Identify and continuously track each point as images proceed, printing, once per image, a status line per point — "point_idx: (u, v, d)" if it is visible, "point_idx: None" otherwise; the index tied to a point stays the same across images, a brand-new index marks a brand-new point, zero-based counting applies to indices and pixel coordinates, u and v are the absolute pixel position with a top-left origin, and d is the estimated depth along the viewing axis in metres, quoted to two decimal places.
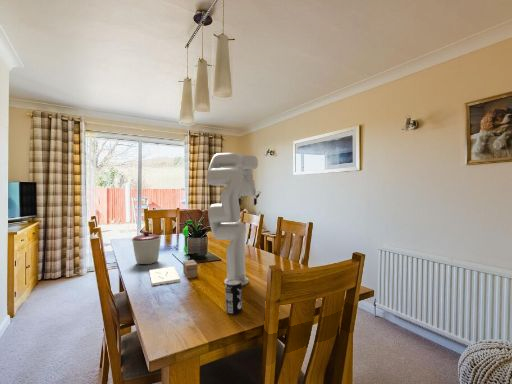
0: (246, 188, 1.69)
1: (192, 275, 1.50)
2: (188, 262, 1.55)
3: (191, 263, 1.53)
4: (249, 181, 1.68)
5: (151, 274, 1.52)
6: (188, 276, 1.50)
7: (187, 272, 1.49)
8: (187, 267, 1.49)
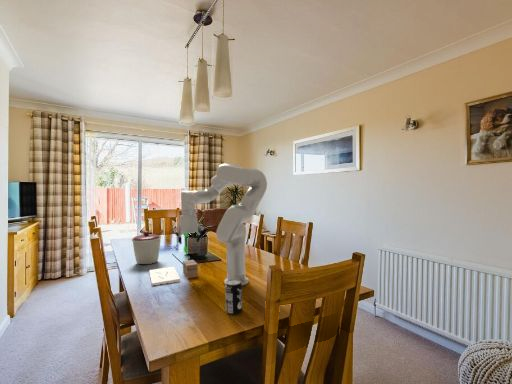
0: None
1: (192, 275, 1.51)
2: (188, 262, 1.55)
3: (191, 263, 1.53)
4: None
5: (151, 274, 1.52)
6: (188, 276, 1.50)
7: (187, 272, 1.49)
8: (187, 267, 1.49)
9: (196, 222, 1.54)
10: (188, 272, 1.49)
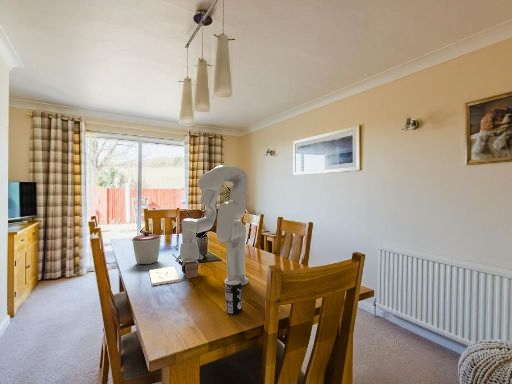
0: None
1: (192, 275, 1.51)
2: (188, 262, 1.55)
3: (191, 262, 1.53)
4: None
5: (151, 274, 1.52)
6: (188, 276, 1.50)
7: (187, 272, 1.49)
8: (187, 267, 1.49)
9: (197, 250, 1.54)
10: (188, 272, 1.50)
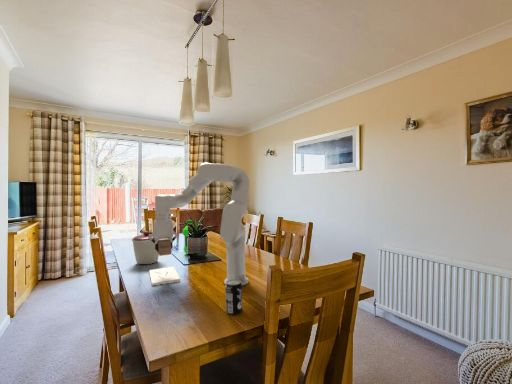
0: None
1: (165, 253, 1.45)
2: (162, 240, 1.49)
3: (165, 240, 1.47)
4: None
5: (151, 274, 1.52)
6: (161, 253, 1.44)
7: (160, 249, 1.43)
8: (160, 244, 1.43)
9: (171, 227, 1.48)
10: (161, 249, 1.43)
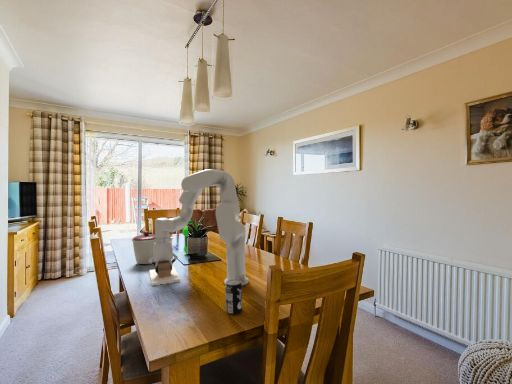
0: None
1: (165, 275, 1.47)
2: (162, 261, 1.51)
3: (164, 262, 1.50)
4: None
5: (151, 274, 1.52)
6: (161, 276, 1.46)
7: (160, 272, 1.46)
8: (160, 267, 1.46)
9: (171, 250, 1.51)
10: (160, 272, 1.46)
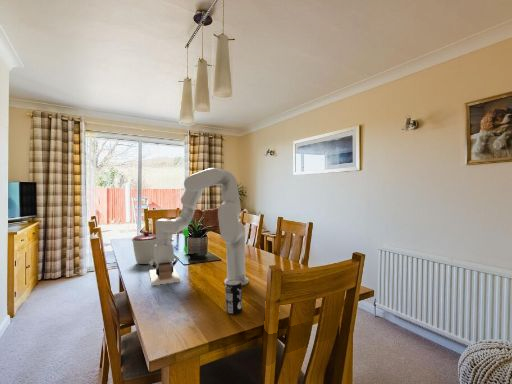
0: None
1: (166, 277, 1.44)
2: (162, 263, 1.48)
3: (165, 264, 1.46)
4: None
5: (151, 274, 1.52)
6: (161, 278, 1.43)
7: (160, 274, 1.42)
8: (160, 268, 1.42)
9: (172, 251, 1.47)
10: (161, 274, 1.42)
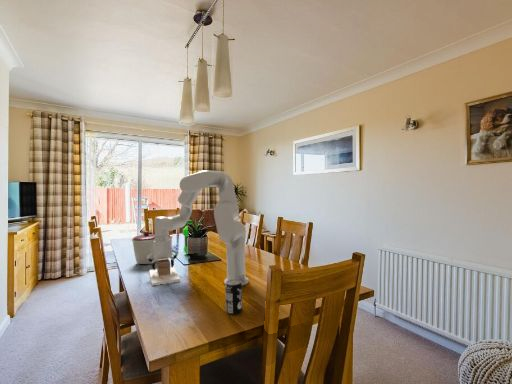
0: None
1: (165, 273, 1.50)
2: (161, 260, 1.55)
3: (164, 261, 1.53)
4: None
5: (151, 274, 1.52)
6: (160, 274, 1.49)
7: (159, 270, 1.49)
8: (159, 265, 1.49)
9: (170, 248, 1.54)
10: (160, 270, 1.49)
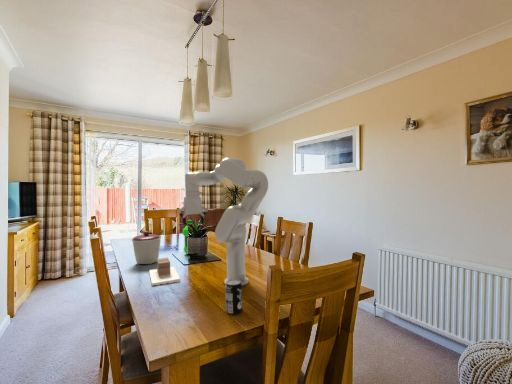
0: None
1: (165, 273, 1.50)
2: (161, 260, 1.55)
3: (164, 261, 1.53)
4: None
5: (151, 274, 1.52)
6: (160, 274, 1.49)
7: (159, 270, 1.49)
8: (159, 265, 1.49)
9: (200, 203, 1.57)
10: (160, 270, 1.49)
